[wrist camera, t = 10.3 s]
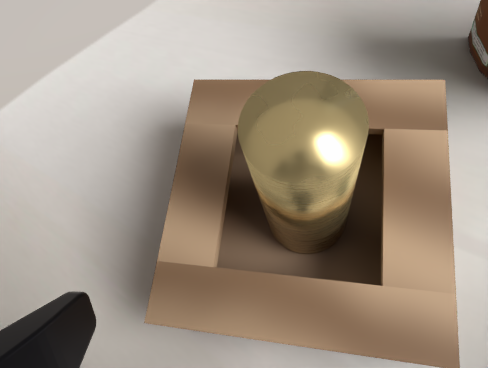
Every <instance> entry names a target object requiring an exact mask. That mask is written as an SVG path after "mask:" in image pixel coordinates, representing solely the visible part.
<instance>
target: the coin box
mask: <svg viewBox="0 0 488 368" xmlns="http://www.w3.org/2000/svg"><path fill="white" fill-rule="evenodd" d="M268 81H269V80H194V83H193V88H192V92H191V97H190V102H189V107H188V112H187V117H186V122H185V127H184V132H183V136H182V141H181V146H180V151H179V156H178V161H177V166H176V171H175V175H174V180H173V185H172V190H171V195H170V200H169V205H168V210H167V214H166V219H165V224H164V229H163V234H162V239H161V244H160V249H159V253H158V258H157V263H156V268H155V273H154V278H153V283H152V288H151V292H150V297H149V302H148V307H147V312H146V317H145V322H144V323H148V324H155V325H161V326H168V327H175V328H181V329H188V330H195V331H202V332H208V333H215V334H222V335H228V336H235V337H242V338H248V339H255V340H262V341H268V342H275V343H282V344H288V345H295V346H302V347H308V348H315V349H322V350H328V351H335V352H342V353H348V354H355V355H362V356H368V357H375V358H382V359H388V360H395V361H402V362H409V363H415V364H422V365H429V366H435V367H442V368H460V365H459V345H458V325H457V305H456V285H455V265H454V246H453V226H452V206H451V186H450V166H449V146H448V127H447V107H446V87H445V80H342V81H344V82H345V83H347V84H348V85H349V86H350V87H352V88H353V89H354V90H355V91H356V92H357V94H358V95H359V96H360V98H361V99H362V101H363V103H364V105H365V107H366V110H367V113H368V119H369V130H368V136H367V140H366V144H365V148H364V152H363V156H362V160H361V164H360V168H359V172H358V176H357V180H356V184H355V188H354V192H353V196H352V200H351V204H350V208H349V212H348V216H347V220H346V224H345V228H344V231H343V233H342V235H341V236H340V238H339V239H338V240H337V242H336V243H335V244H333V245H332V246H331V247H329V248H328V249H326V250H324V251H321V252H318V253H314V254H302V253H297V252H294V251H291V250H289V249H287V248H286V247H284V246H283V245H282V244H280V243H279V242H278V241H277V239H276V238H275V237H274V235H273V233H272V231H271V229H270V226H269V223H268V220H267V218H266V215H265V212H264V209H263V206H262V204H261V201H260V198H259V195H258V193H257V190H256V187H255V184H254V181H253V179H252V176H251V173H250V170H249V168H248V165H247V162H246V159H245V156H244V154H243V151H242V148H241V145H240V142H239V137H238V121H239V117H240V113H241V111H242V109H243V106H244V105H245V103H246V101H247V100H248V99H249V97H250V96H251V95H252V94H253V93H254V92H255V91H256V90H257V89H258V88H259V87H260V86H262V85H263V84H265V83H266V82H268Z"/></svg>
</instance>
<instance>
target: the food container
mask: <svg viewBox="0 0 488 368" xmlns="http://www.w3.org/2000/svg"><path fill="white" fill-rule="evenodd" d="M468 39H469V48H470V53H471V55H472V57H473V59H474V61H475V63H476V65H477V67H478V69H479V71H480V72H481V73H482V74H483V75H484V76H485V77H486V78H487V79H488V0H481V1H480V4H479V7H478V10H477V13H476V16H475V19H474V22H473V25H472V28H471V31H470V34H469V37H468Z"/></svg>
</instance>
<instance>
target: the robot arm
mask: <svg viewBox="0 0 488 368" xmlns="http://www.w3.org/2000/svg"><path fill="white" fill-rule="evenodd" d="M95 327H96V317H95V314H94V311H93V308H92V305H91V302H90V299H89V296H88V295H87V294H86V293H85V292H67V293H65V294H64V295H62V296H60V297H58V298H57V299H55V300H53V301H51V302H50V303H48V304H46V305H44V306H43V307H41V308H39V309H37V310H36V311H34V312H32V313H30V314H29V315H27V316H25V317H23V318H22V319H20V320H18V321H16V322H15V323H13V324H11V325H9V326H8V327H6V328H4V329H2V330H1V331H0V368H80V365H81V363H82V360H83V358H84V355H85V353H86V350H87V348H88V345H89V343H90V340H91V338H92V336H93V333H94V331H95Z"/></svg>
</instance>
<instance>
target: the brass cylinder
mask: <svg viewBox="0 0 488 368" xmlns="http://www.w3.org/2000/svg"><path fill="white" fill-rule="evenodd" d="M368 130H369V119H368V113H367V110H366V107H365V105H364V103H363V101H362V99H361V98H360V96H359V95H358V94H357V92H356V91H355V90H354V89H353V88H352V87H350V86H349V85H348V84H347V83H345V82H344V81H342V80H340V79H338V78H336V77H334V76H331V75H328V74H325V73H320V72H313V71H299V72H292V73H287V74H284V75H281V76H278V77H276V78H273V79H271V80H269V81H268V82H266V83H265V84H263V85H262V86H260V87H259V88H258V89H257V90H256V91H255V92H254V93H253V94H252V95H251V96H250V97H249V99H248V100H247V101H246V103H245V105H244V106H243V109H242V111H241V113H240V117H239V121H238V137H239V142H240V145H241V148H242V151H243V154H244V156H245V159H246V162H247V165H248V168H249V170H250V173H251V176H252V179H253V181H254V184H255V187H256V190H257V193H258V195H259V198H260V201H261V204H262V206H263V209H264V212H265V215H266V218H267V220H268V223H269V226H270V229H271V231H272V233H273V235H274V237H275V238H276V239H277V241H278V242H279V243H280V244H282V245H283V246H284V247H286V248H287V249H289V250H291V251H294V252H297V253H302V254H314V253H318V252H321V251H324V250H326V249H328V248H329V247H331V246H332V245H333V244H335V243H336V242H337V240H338V239H339V238H340V236H341V235H342V233H343V231H344V228H345V224H346V220H347V216H348V212H349V208H350V204H351V200H352V196H353V192H354V188H355V184H356V180H357V176H358V172H359V168H360V164H361V160H362V156H363V152H364V148H365V144H366V140H367V136H368Z"/></svg>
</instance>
